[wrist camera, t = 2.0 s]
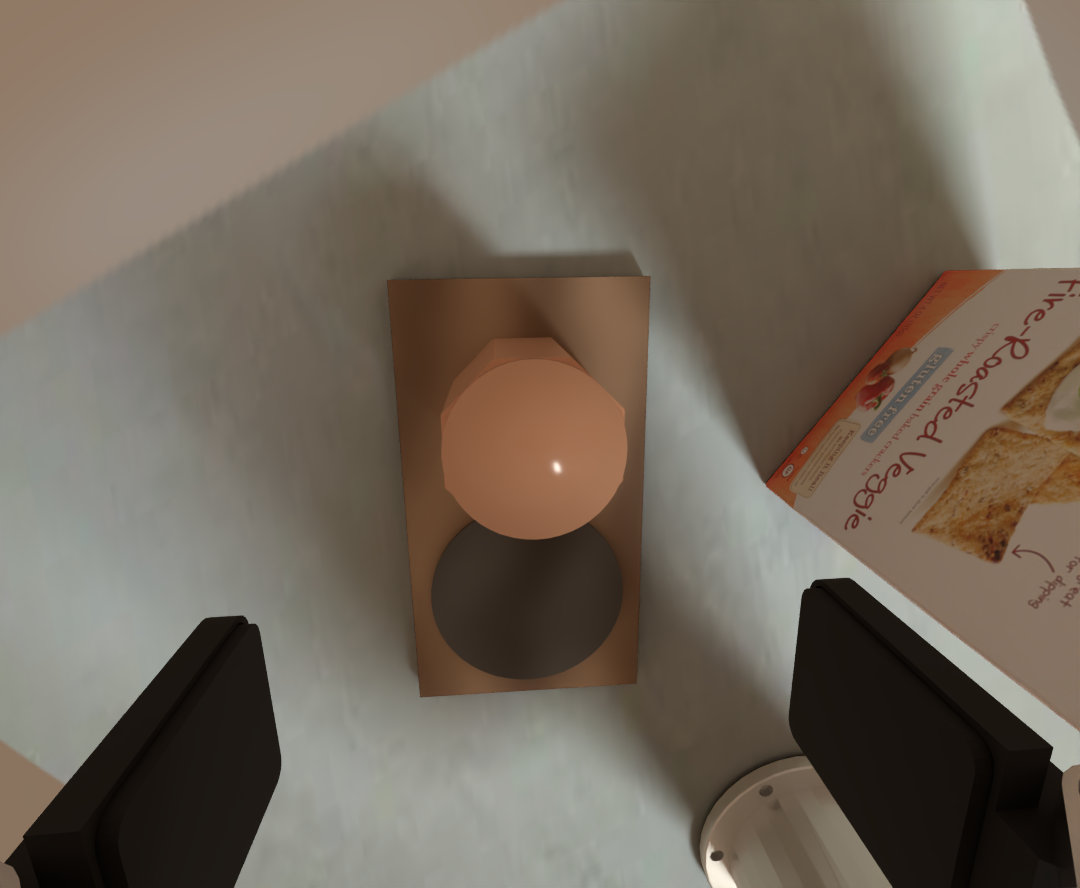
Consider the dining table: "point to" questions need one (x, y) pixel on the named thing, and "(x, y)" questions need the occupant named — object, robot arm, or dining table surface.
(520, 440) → the orange cylinder peg
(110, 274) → the dining table surface
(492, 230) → the dining table surface
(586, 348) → the board
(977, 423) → the cracker box
